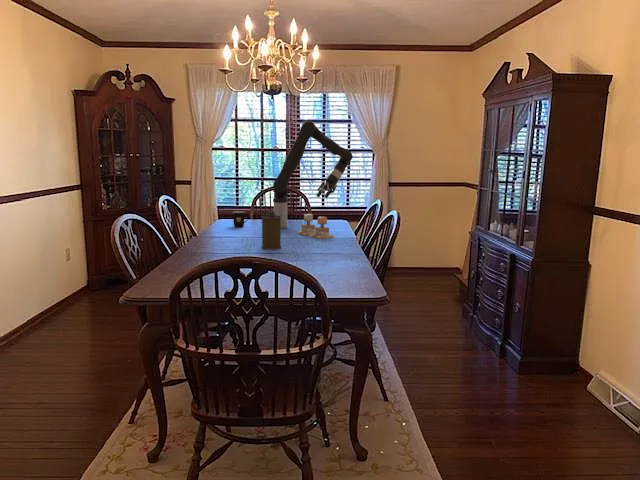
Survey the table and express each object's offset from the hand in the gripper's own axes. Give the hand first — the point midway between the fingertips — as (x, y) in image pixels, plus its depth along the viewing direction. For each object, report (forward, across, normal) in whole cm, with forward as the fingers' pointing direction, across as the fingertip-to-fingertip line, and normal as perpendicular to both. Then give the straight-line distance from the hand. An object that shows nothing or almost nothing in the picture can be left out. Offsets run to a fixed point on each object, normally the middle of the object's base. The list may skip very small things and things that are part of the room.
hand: (321, 197), depth 335 cm
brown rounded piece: (+21, +14, +3) cm, 25 cm away
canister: (+54, +24, -26) cm, 64 cm away
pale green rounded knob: (+20, 0, +3) cm, 21 cm away
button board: (+25, +7, +7) cm, 27 cm away
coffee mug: (+38, -47, -12) cm, 62 cm away
